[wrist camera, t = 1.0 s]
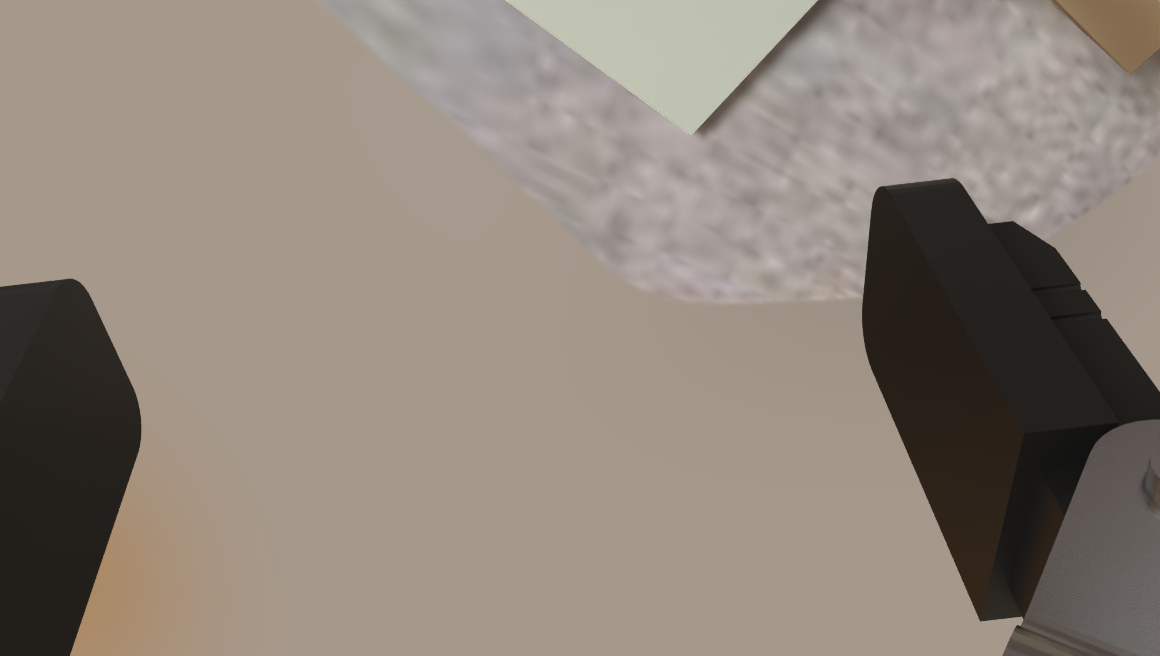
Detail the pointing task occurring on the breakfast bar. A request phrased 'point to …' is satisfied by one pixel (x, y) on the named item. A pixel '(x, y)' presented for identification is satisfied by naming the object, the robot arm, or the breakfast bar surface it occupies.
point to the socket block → (1118, 27)
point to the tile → (671, 45)
